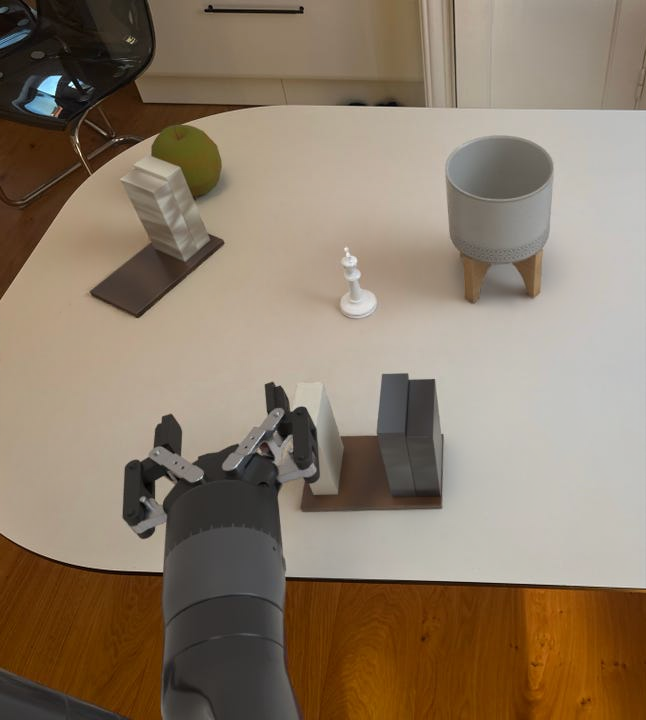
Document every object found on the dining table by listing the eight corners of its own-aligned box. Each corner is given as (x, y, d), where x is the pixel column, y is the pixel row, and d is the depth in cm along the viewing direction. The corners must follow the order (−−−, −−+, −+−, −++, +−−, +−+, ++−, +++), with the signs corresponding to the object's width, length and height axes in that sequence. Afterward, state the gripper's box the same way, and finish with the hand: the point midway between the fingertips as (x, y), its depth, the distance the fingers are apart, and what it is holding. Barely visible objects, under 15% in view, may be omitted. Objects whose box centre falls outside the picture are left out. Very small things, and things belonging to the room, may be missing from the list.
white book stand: (138, 318, 94) (93, 241, 83) (91, 295, 97) (42, 218, 86) (224, 243, 103) (194, 165, 92) (179, 224, 106) (145, 147, 95)
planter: (564, 269, 98) (575, 160, 84) (507, 323, 92) (508, 215, 78) (492, 231, 103) (491, 123, 89) (433, 280, 97) (422, 171, 83)
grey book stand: (301, 511, 75) (270, 444, 65) (313, 440, 81) (286, 368, 71) (442, 508, 75) (433, 440, 65) (443, 437, 81) (435, 364, 70)
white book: (313, 495, 75) (287, 433, 66) (320, 447, 79) (297, 382, 70) (337, 494, 75) (315, 432, 66) (343, 446, 79) (323, 381, 70)
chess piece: (371, 288, 96) (360, 231, 89) (381, 312, 93) (371, 256, 86) (336, 298, 95) (322, 241, 88) (345, 323, 92) (331, 266, 85)
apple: (155, 186, 112) (127, 124, 103) (211, 161, 116) (188, 100, 107) (183, 216, 107) (156, 154, 98) (240, 190, 111) (219, 128, 102)
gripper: (310, 498, 45) (290, 346, 57) (86, 574, 43) (114, 401, 55) (345, 561, 50) (319, 409, 62) (145, 631, 48) (159, 461, 60)
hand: (222, 405), depth 59 cm, fingers open, 8 cm apart
